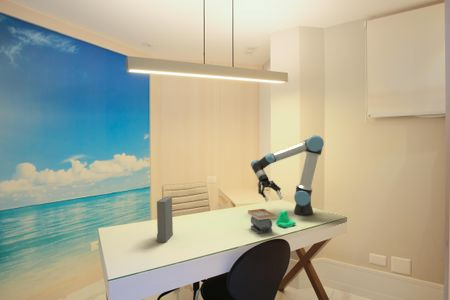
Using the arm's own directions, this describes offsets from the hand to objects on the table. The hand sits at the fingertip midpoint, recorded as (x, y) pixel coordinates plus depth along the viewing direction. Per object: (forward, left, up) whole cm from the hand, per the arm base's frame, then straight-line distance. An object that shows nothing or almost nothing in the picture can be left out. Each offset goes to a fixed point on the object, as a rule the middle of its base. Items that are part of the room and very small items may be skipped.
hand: (274, 199), depth 204 cm
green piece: (-2, +12, -17) cm, 21 cm away
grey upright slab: (+82, +5, -17) cm, 83 cm away
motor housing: (+19, +14, -16) cm, 29 cm away
